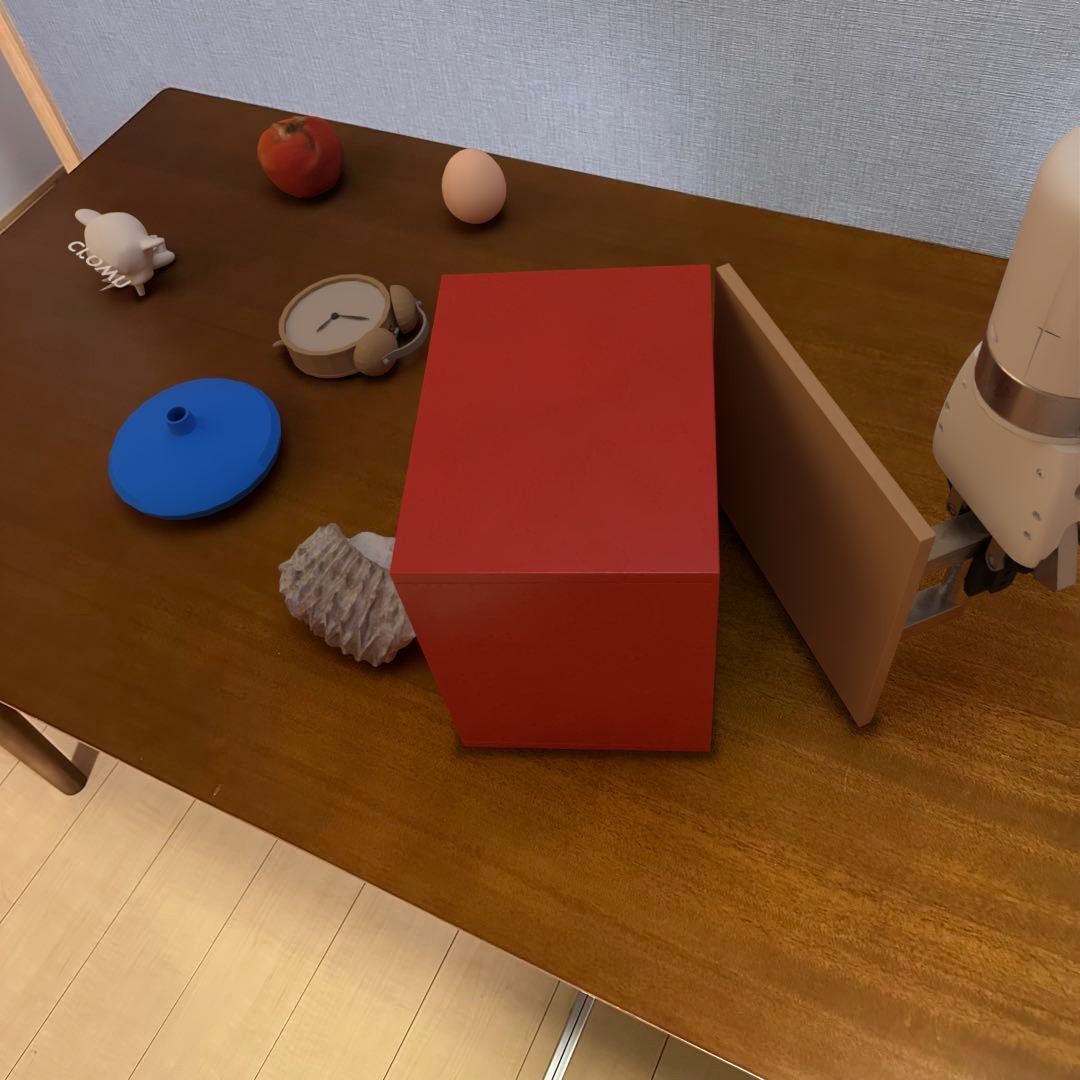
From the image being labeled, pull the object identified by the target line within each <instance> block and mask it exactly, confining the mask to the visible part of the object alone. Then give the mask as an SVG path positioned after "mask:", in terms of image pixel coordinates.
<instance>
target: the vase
mask: <svg viewBox="0 0 1080 1080" xmlns="http://www.w3.org/2000/svg"><path fill="white" fill-rule="evenodd" d="M281 444H282V427H281V416H280V414H279V412H278V410H277V407H276V405H275V404H274V401H273V400H272V399H271V398H270V397H268V395H266V393H264V392H263V390H261V389H260V388H257V387H255V386H253V385H251V384H249V383H247V382H244V381H238V380H233V379H228V378H222V377H214V378H212V377H211V378H208V377H207V378H198V379H194V380H188V381H185V382H181V383H178V384H175V385H174V386H173V385H172V386H171V387H168V388H166V389H164V390H161V391H160V392H158V393H157V394H154V396H152V397H150V398H149V399H147V400H145V401H144V402H142V404H141V405H140V406H139V407H138V408H136V409H135V410H134V411H133V412H132V413H131V414H130V415H129V416H128V417H127V418H126V420H125V422H124V423H123V424H122V426H121V427H120V429H119V430H118V432H117V434H116V436H115V439H114V441H113V443H112V447H111V449H110V452H109V454H108V469H107V473H108V476H109V479H110V483H111V486H112V489H113V490H114V491H115V493H116V494H117V495H118V496H119V498H120V499H121V500H122V501H123V502H124V503H126V504H127V505H129V506H130V507H133V508H134V509H136V510H137V511H139V512H141V513H143V514H145V515H146V516H150V517H152V518H153V517H154V518H158V519H162V520H167V521H178V520H179V521H182V520H183V521H185V520H187V521H188V520H194V519H197V518H202V517H207V516H211V515H213V514H216V513H218V512H220V511H222V510H225V509H227V508H229V507H231V506H233V505H234V504H236V503H238V502H240V501H241V500H242V499H244V498H245V497H247V496H248V495H249V494H251V493H252V492H253V491H254V490H255V489H256V488H257V487H258V486H259V485H260V483H261V482H262V481H264V480H265V479H266V477H267V476H268V474H269V473H270V471H271V469H272V467H273V466H274V464H275V463H276V461H277V458H278V456H279V451H280V448H281Z"/></svg>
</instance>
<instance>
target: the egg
mask: <svg viewBox="0 0 1080 1080" xmlns="http://www.w3.org/2000/svg"><path fill="white" fill-rule="evenodd" d="M441 192H442V199H443V201H444V204H445V206H446V208H447V209H448V211H449V212H450V213H451V214H452V215H453V216H454V217H456V218H457V219H459V220H460V221H462V222H464V223H467V224H473V225H480V224H484V223H486V222H488V221H491V220H492V219H494V218H495V217H496V216H497V215H498V214H499V213H500V211H501V210H502V208H503V207H504V204H505V201H506V198H507V183H506V179H505V175H504V173H503V171H502V169H501V167H500V165H499V164H498V163H497V162H496V160H495V159H494V158H493V157H492V156H491V155H489V153H487V152H486V151H483V150H481V149H478V148H473V147H472V148H470V147H469V148H464V149H461V150H459V151H457V152H456V153H455V154H454V155H452V157H450V159H449V161H448V162H447V164H446V166H445V168H444V172H443V175H442V178H441Z"/></svg>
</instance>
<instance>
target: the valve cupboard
mask: <svg viewBox="0 0 1080 1080" xmlns="http://www.w3.org/2000/svg"><path fill="white" fill-rule="evenodd" d="M437 296H438V297H437V302H436V308H435V313H434V319H433V325H432V329H431V335H430V340H429V341H430V342H429V347H428V353H427V358H426V363H425V370H424V375H423V380H422V387H421V392H420V398H419V402H418V403H419V404H418V409H417V414H416V420H415V425H414V431H413V437H412V441H411V448H410V454H409V458H408V459H409V460H408V465H407V471H406V476H405V477H406V478H405V481H404V487H403V493H402V499H401V505H400V510H399V517H398V522H397V528H396V532H395V537H394V538H395V544H394V549H393V555H392V561H391V566H390V572H389V574H390V576H391V579H392V581H393V584H394V586H395V588H396V591H397V593H398V595H399V598H400V600H401V602H402V604H403V607H404V609H405V611H406V614H407V616H408V618H409V621H410V623H411V625H412V628H413V630H414V632H415V635H416V637H415V638H416V640H417V642H418V644H419V646H420V648H421V650H422V653H423V655H424V658H425V660H426V662H427V664H428V667H429V669H430V671H431V675H432V676H433V678H434V681H435V684H436V685H437V688H438V690H439V693H440V695H441V697H442V699H443V702H444V704H445V706H446V709H447V711H448V714H449V715H450V718H451V720H452V722H453V724H454V727H455V729H456V732H457V734H458V736H459V738H460V740H461V743H462V745H463V747H464V748H497V749H498V748H501V749H542V750H543V749H544V750H545V749H549V750H550V749H551V750H590V751H594V750H595V751H597V750H599V751H641V752H643V751H646V752H652V751H653V752H688V753H691V752H692V753H693V752H694V753H710V752H712V751H711V748H712V732H713V730H712V729H713V714H714V713H713V712H714V695H715V693H714V692H715V678H716V677H715V675H716V674H715V673H716V658H717V639H718V638H717V637H718V619H719V599H720V585H721V584H720V581H721V559H720V557H721V556H720V555H721V554H720V529H719V528H720V527H719V502H718V490H717V458H716V425H715V393H714V361H713V335H714V327H713V301H712V299H713V298H712V296H713V295H712V267H711V264H709V263H707V264H684V265H683V264H681V265H659V266H658V265H657V266H633V267H632V266H631V267H606V268H579V269H559V270H557V269H556V270H534V271H533V270H532V271H531V270H529V271H508V272H505V271H504V272H482V273H481V272H480V273H460V274H442V275H441V278H440V285H439V291H438V295H437Z"/></svg>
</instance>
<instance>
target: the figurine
mask: <svg viewBox="0 0 1080 1080" xmlns="http://www.w3.org/2000/svg"><path fill="white" fill-rule="evenodd" d="M74 216H75V219H76V220H77V221H78V222H80V223H81V224H82V225H83V226H85V228H84V232H83V234H84V242H85V243H83V242H81V241H73V242H70V243H69V244H68V245H67V246H68V247H67V248H68V250H69V251H71V252H76V251H77V249H73V247H72V246H74V245H76V244H77V245H80V246H81V247H82V248H84V249H81V250H80V251H78V252H77V253H75V255H76V256H78V257H79V259H80V260H81V259H82V260H84V259H85V256H82V254H83V253H85V252H86V253H85V254H86V256H87V257H86V260H85V262H86V264H87V265H88V266H91V267H94V270H95V272H97V273H98V274H101V276H108V277H105V278H103V279H102V280H101V282H103V283H110V284H109V285H106V286H105V287H103V288H102V289H100V290H99V292H100V291H101V292H102V291H104V290H107V289H110V288H113V287H116V288H123V287H125V286H133V287H134V288H135V290H136V291H137V294H138V296H140V297H141V296H145V295H146V291H145V286H144V285H145V284H146V283H147V282H148V281H149V280H151V279H152V278H153V277H154V274H155V273H154V270H157V269H160V268H162V267H165V266H168V265H169V264H171V263H172V262H174V260H175V258H176V255H175V253H174V252H172V251H171V250H168V249H167V247H166V243H165V237H158V235H157V234H152V235H149V233H148V231H147V229H146V228H145V226H144V225H143V223H142V222H141V221H140V220H138V219H137V217H135V216H134V215H131V214H129V213H127V212H118V211H115V212H107V213H104V214H101V213H100V212H98V211H96V210H93V209H90V208H80V209H77V210H76V211H75V214H74Z"/></svg>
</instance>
